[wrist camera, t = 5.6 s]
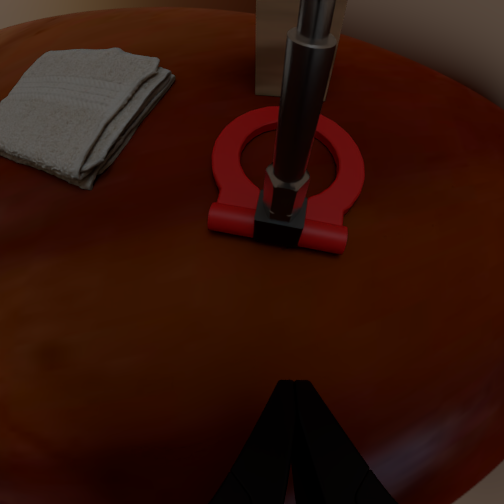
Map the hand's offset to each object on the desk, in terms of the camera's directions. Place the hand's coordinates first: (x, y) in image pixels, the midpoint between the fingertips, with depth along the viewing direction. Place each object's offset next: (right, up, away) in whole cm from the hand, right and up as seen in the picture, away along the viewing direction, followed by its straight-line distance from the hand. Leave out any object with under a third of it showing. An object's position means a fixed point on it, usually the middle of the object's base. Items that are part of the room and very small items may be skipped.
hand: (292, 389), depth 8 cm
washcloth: (-17, +15, +14) cm, 26 cm away
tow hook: (+1, +9, +11) cm, 14 cm away
